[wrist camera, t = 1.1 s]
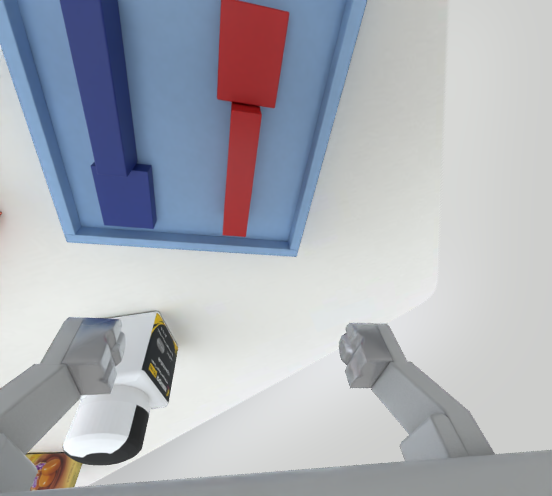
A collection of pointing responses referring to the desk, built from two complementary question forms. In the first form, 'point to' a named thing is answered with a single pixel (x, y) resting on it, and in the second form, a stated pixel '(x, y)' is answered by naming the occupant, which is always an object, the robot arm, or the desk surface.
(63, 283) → the desk surface
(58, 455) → the candy box
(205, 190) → the blue tray
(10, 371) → the desk surface
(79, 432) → the medicine bottle
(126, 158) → the navy stepped bar
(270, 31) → the red stepped bar
